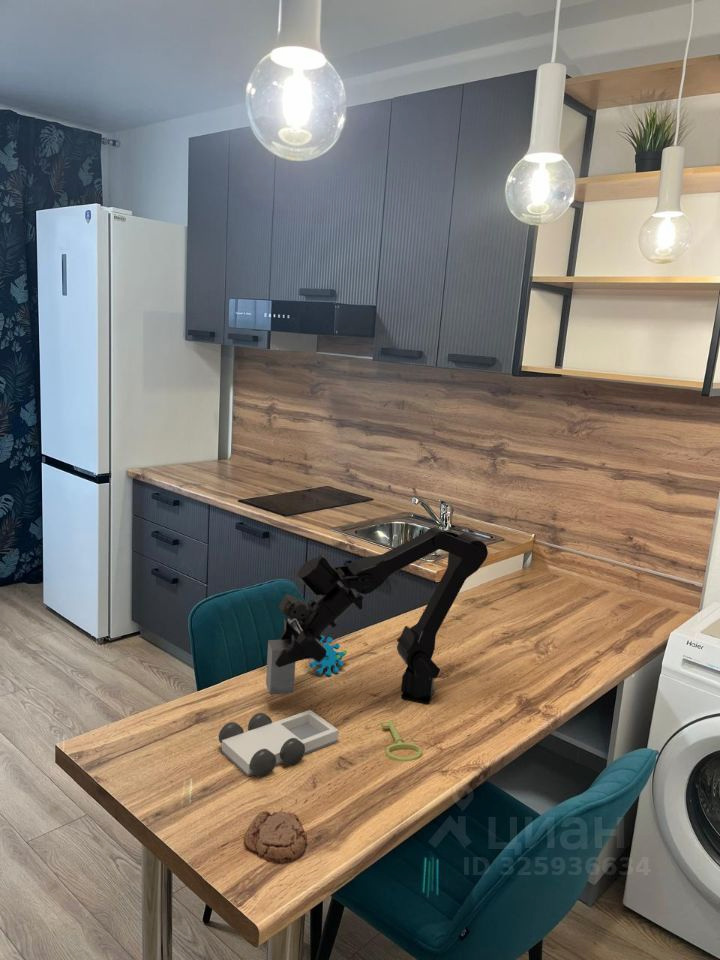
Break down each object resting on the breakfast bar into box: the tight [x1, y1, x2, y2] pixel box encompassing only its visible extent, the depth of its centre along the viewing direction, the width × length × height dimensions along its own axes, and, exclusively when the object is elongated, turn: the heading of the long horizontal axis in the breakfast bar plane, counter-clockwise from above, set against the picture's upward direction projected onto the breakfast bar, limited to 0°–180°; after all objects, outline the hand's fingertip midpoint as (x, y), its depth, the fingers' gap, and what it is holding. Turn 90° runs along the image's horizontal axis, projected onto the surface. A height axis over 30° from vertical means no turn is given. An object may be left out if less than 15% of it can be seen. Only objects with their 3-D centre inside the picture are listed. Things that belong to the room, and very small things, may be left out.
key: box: [380, 720, 423, 762], centre depth 145 cm, size 7×12×2 cm, turn 33°
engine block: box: [265, 639, 296, 696], centre depth 154 cm, size 5×5×10 cm
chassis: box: [218, 709, 339, 778], centre depth 141 cm, size 21×13×5 cm, turn 131°
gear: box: [306, 634, 348, 677], centre depth 175 cm, size 11×6×10 cm
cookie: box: [243, 810, 308, 864], centre depth 115 cm, size 10×11×3 cm
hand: (274, 659), depth 153 cm, fingers closed on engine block, 5 cm apart
